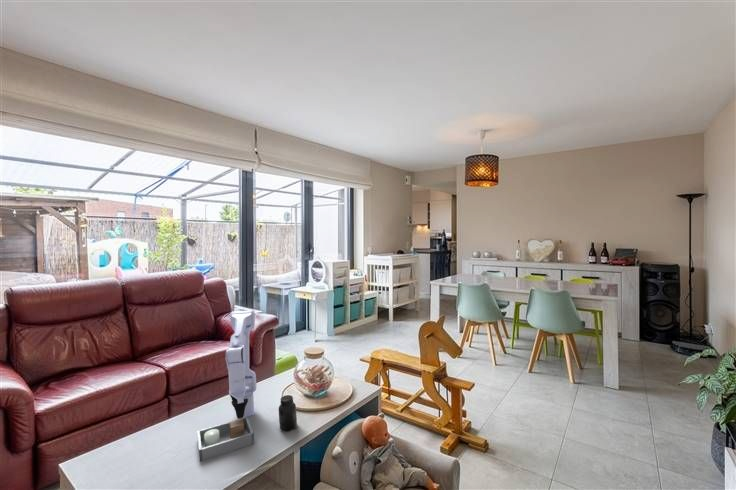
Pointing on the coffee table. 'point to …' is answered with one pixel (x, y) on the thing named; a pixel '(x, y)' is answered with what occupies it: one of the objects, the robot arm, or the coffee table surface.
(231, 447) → the tote
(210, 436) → the pale green cylinder
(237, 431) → the walnut block
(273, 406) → the coffee table surface
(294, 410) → the supplement bottle
